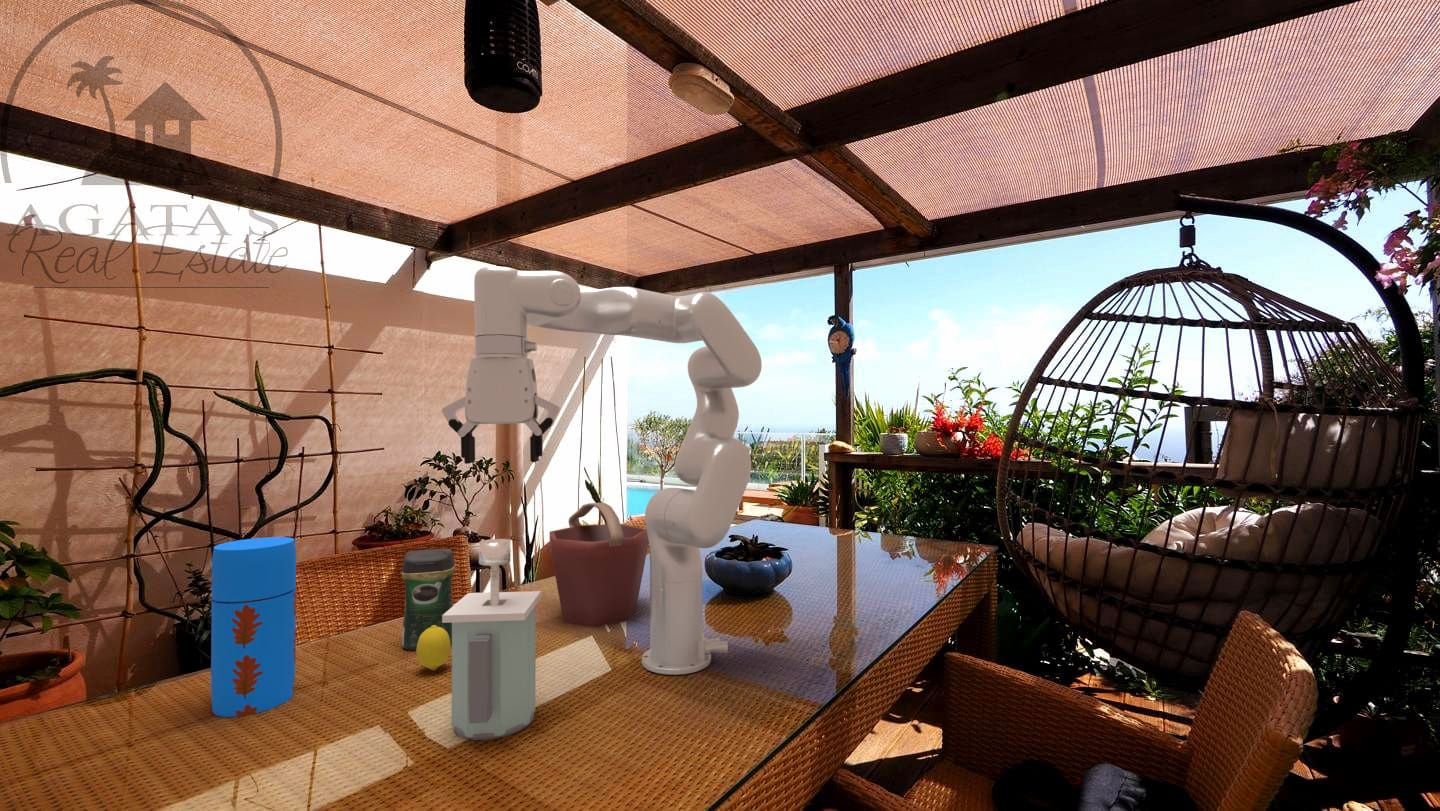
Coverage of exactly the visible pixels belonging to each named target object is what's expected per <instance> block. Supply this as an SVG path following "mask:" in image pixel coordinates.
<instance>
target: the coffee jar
mask: <svg viewBox="0 0 1440 811" xmlns="http://www.w3.org/2000/svg"><path fill="white" fill-rule="evenodd" d="M455 570H456V566H455V559H454V553H453V550H452V549H451V548H435V549H433V548H431V549H422V550H421V549H420V550H412V551H408V552H407V553H406V554H405V555H404V557H403V561H402V568H401V578H402V581H403V583H404V591H405V596H404V598H405V599H404V600H405V601H404V613H403V623H402V634H401V645H402V647H403V648H404V649H406V650H416V649H417V643H418V640H419V637H420V635H421V634H422V633H423V632H424V631H425V630H426V629H428V628H430V627H431V626H432V625H436V626H437V627H441V628H443V629H444V630H445V631H446V632H447V633H448V635H449V638H450V643H452V622H450V623H442V615H443V614H445V613H446V612H447V611H448V610H449V609H450V608H451V607H453V606H454V605H453V597H452V596H453V595H452V578H453V575H454V574H455Z"/></svg>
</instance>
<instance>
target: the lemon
mask: <svg viewBox="0 0 1440 811" xmlns="http://www.w3.org/2000/svg"><path fill="white" fill-rule="evenodd" d="M451 650H452V642H450V638H449V635H448V633H447V632H446V631H445V630H444V629H443V628H441V627H437V626H436V625H432V626H431V627H430V628H428V629H426V630H425V631H424V632H423V633H422V634H421V635H420V637H419V640H418V643H417V649H415V651H416V653H415V654H416V658H417V661H418V663H419V664H420V665H421V666H422V667H424V668H426V669H429V670H430V671H433V672H435V671H436V670H437V669H438V668H439V667H440V666H442V665H444V663H445V662H447V660H448V658H449V656H450V654H451Z"/></svg>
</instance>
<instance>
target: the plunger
mask: <svg viewBox="0 0 1440 811" xmlns="http://www.w3.org/2000/svg"><path fill="white" fill-rule="evenodd" d="M510 562H511V540H510V539H508V538H507V539H506V538H492V539H485V540H482V541H479V542H478V564H479V565H481V566H489V567H490V592H491V595H490V606H494V605H499V592H500V566H501V565H506V564H508V563H510Z"/></svg>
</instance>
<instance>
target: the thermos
mask: <svg viewBox="0 0 1440 811" xmlns="http://www.w3.org/2000/svg"><path fill="white" fill-rule="evenodd" d="M211 558H212V559H211V634H210V636H211V639H210V640H211V641H210V642H211V643H210V644H211V646H210V648H211V649H210V651H211V654H210V657H211V659H210V691H211V692H210V693H211V708H212V710H211V712H212V714H214V715H216V716H219V717H225V718H229V717H231V718H232V717H243V716H248V715H253V714H254V715H255V714H259V713H261V712H265V711H268V710H271V709H273V708H276V707H279V706H281V705H283V704H285V703H286V702H288V701H289V700H291V698H292V697H293V696H294V694H295V682H296V681H295V680H296V678H295V677H296V640H297V639H296V638H297V637H296V630H297V628H296V622H297V619H296V618H297V616H296V615H297V614H296V612H297V609H296V608H297V606H296V604H297V603H296V602H297V600H296V599H297V595H296V594H297V592H296V591H297V585H296V584H297V583H296V582H297V573H296V572H297V549H296V542H295V539H294V538H292V537H287V536H272V537H271V536H270V537H269V536H268V537H257V538H246V539H239V540H233V541H229V542H224V543H219V544H217V545H215V546H213V551H212V557H211Z"/></svg>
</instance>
